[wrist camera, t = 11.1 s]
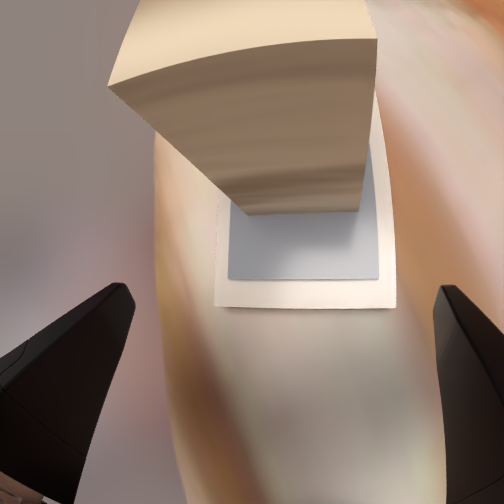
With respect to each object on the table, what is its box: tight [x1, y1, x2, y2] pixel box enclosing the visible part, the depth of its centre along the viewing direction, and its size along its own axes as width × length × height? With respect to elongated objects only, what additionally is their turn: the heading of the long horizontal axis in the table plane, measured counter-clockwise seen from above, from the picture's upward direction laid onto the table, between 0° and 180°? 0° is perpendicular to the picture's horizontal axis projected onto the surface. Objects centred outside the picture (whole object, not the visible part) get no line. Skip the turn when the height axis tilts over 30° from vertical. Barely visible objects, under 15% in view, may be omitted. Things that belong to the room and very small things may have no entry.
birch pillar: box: [107, 0, 377, 216], centre depth 12 cm, size 6×6×12 cm
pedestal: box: [214, 89, 396, 309], centre depth 19 cm, size 16×10×3 cm, turn 178°
